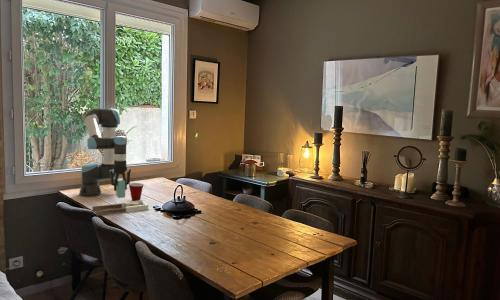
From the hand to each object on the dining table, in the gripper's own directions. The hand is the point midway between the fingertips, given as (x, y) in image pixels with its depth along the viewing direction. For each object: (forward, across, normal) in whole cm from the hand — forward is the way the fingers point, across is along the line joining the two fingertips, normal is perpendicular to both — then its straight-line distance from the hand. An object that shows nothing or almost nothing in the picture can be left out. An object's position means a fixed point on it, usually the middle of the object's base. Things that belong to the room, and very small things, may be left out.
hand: (120, 195), depth 250 cm
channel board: (+10, -7, -1) cm, 12 cm away
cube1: (+10, +5, 0) cm, 11 cm away
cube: (+10, +9, -2) cm, 14 cm away
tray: (+10, +9, -1) cm, 13 cm away
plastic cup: (+11, +16, +19) cm, 27 cm away
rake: (+1, 0, 0) cm, 1 cm away
